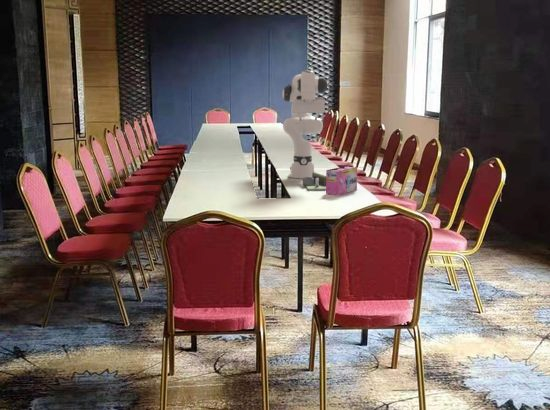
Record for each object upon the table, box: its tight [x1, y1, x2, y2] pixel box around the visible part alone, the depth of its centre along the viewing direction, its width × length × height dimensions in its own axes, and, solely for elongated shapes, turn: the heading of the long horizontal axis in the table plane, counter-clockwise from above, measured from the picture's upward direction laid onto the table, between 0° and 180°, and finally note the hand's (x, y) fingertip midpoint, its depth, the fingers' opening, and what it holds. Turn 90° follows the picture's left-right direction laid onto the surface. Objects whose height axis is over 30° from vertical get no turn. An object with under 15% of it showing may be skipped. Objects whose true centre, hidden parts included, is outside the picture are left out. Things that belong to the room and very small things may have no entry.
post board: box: [305, 178, 326, 192], centre depth 348 cm, size 8×16×6 cm, turn 95°
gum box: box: [325, 165, 358, 196], centre depth 341 cm, size 24×8×14 cm, turn 144°
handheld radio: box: [312, 171, 326, 186], centre depth 366 cm, size 7×3×25 cm
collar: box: [302, 177, 315, 188], centre depth 359 cm, size 6×6×5 cm
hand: (308, 120), depth 362 cm, fingers open, 8 cm apart
